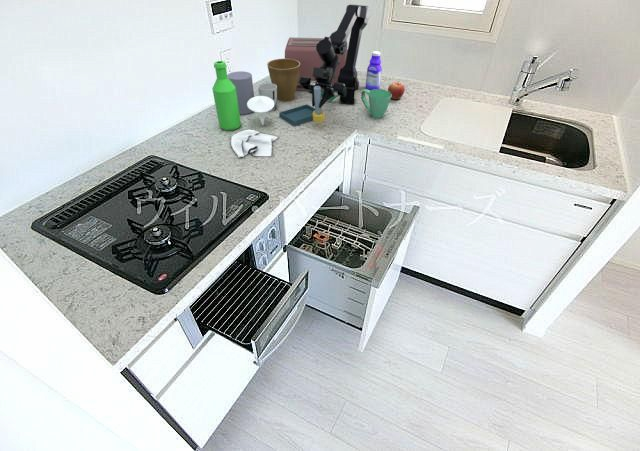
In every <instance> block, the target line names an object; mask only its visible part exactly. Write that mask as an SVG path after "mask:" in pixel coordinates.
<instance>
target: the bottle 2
mask: <svg viewBox="0 0 640 451" xmlns="http://www.w3.org/2000/svg"><path fill="white" fill-rule="evenodd" d="M381 60H382V59H381V52H380V51H378V50H374V51H372V52H371V57H370V60H369V64H368V66H367V69H366V78H365V89H367V90H370V91H371V90H375V89H380V87H381V80H382V79H381V78H382V73H383V72H382V70H383V67H382V65H381V64H382V61H381Z"/></svg>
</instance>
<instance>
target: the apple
mask: <svg viewBox="0 0 640 451" xmlns="http://www.w3.org/2000/svg"><path fill="white" fill-rule="evenodd" d="M387 91H389V92H390V95H391V94H392V96H391V99H394V100H398V99H400V98H402V97H403V96H404V94H405V91H406V87H405V85H404V84H403V83H401V82H400V81H395V82H394V81H393V82H392V83H390V84H389V86H388V87H387Z"/></svg>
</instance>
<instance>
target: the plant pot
mask: <svg viewBox="0 0 640 451" xmlns="http://www.w3.org/2000/svg"><path fill="white" fill-rule="evenodd" d="M266 66H267V70H268V74H269V78H270V81H271V82H270V83H272V84H275V85H277V100H279V101H281V102H291V101H292V100H293V99H294V98H295V95H296V92H297V91H296V88H297V84H298V78H299V71H300V62H299V61H297V60H294V59H285V58H276V59H272V60H270V61H268V62H267V64H266Z"/></svg>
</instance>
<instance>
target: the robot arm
mask: <svg viewBox="0 0 640 451" xmlns="http://www.w3.org/2000/svg"><path fill="white" fill-rule="evenodd" d="M370 17H371V9H370V8H369V6H368V5H362V4H361V5H360V4H351V3H350V4H347V5H346V9H345V13H344V14H343V17H342V19H341V20H340V22H339V25H338V26H337V29H336V30H335V31H333V32H331V34H330V35H329V36H324V37H323V38H324V39H323V40H321V41H320V42H319V43H318V44H317V46H316V50H317V52H318V54H319V56H320V58H321V60H322V61H323V64H322V67H320V68H316V67H314V69H313V74H312V76H313V77H315V80H317V82H315V81H312V80H311V78H310V77H305V76H302V77H301V78H300V80H299V83H300V85H301V86H302V87H303V88H304V89H307V90H311V91H312V92H311V107H313V108H315V99H314V87H315V86H320V87H321V88H322V89H324V93H323V96H321V101H320V104H319V108H321V107H323V106H324V105H325V104H326V103H327V102H328V101H329V99H330V98H331V97H334V96H335V95H338V97H339V101H340V102H339V103H340V104H342V105H343V104H345V105H347V104H348V105H354V104H355V95H356V92H357V91H359V88H360V82H359V78H358V70H357V68H356V65H357V60H358V55H359V49H360V46H361V45H360V43H361V38H362V34H363V30H364V29H365V28H366V26H367V25H368V22H369V19H370ZM348 37H349V41H348ZM346 49H348V51H347V57H346V62H345V65H344V67H343V68H341V69H340V74H339V76H338V82H335V83H334V85H331V84H332V81H333V79H335V72H336V69H337V66H338V65H339V64H340V61H339V58H338V56H337V55H336V54H340V55H343V54H344V53H345V52H346ZM335 91H338V92H335Z"/></svg>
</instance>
